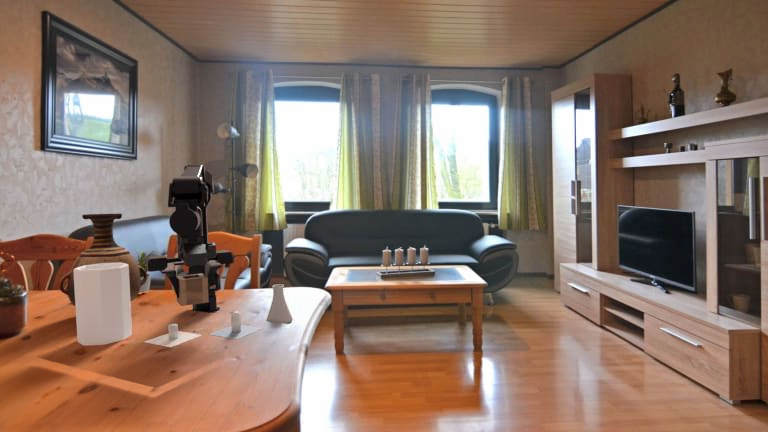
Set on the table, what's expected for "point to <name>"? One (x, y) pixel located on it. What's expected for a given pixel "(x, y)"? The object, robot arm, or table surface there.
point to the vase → (105, 255)
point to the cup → (102, 303)
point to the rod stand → (173, 337)
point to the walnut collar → (192, 289)
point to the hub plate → (235, 335)
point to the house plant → (143, 264)
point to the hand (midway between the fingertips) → (192, 296)
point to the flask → (279, 306)
